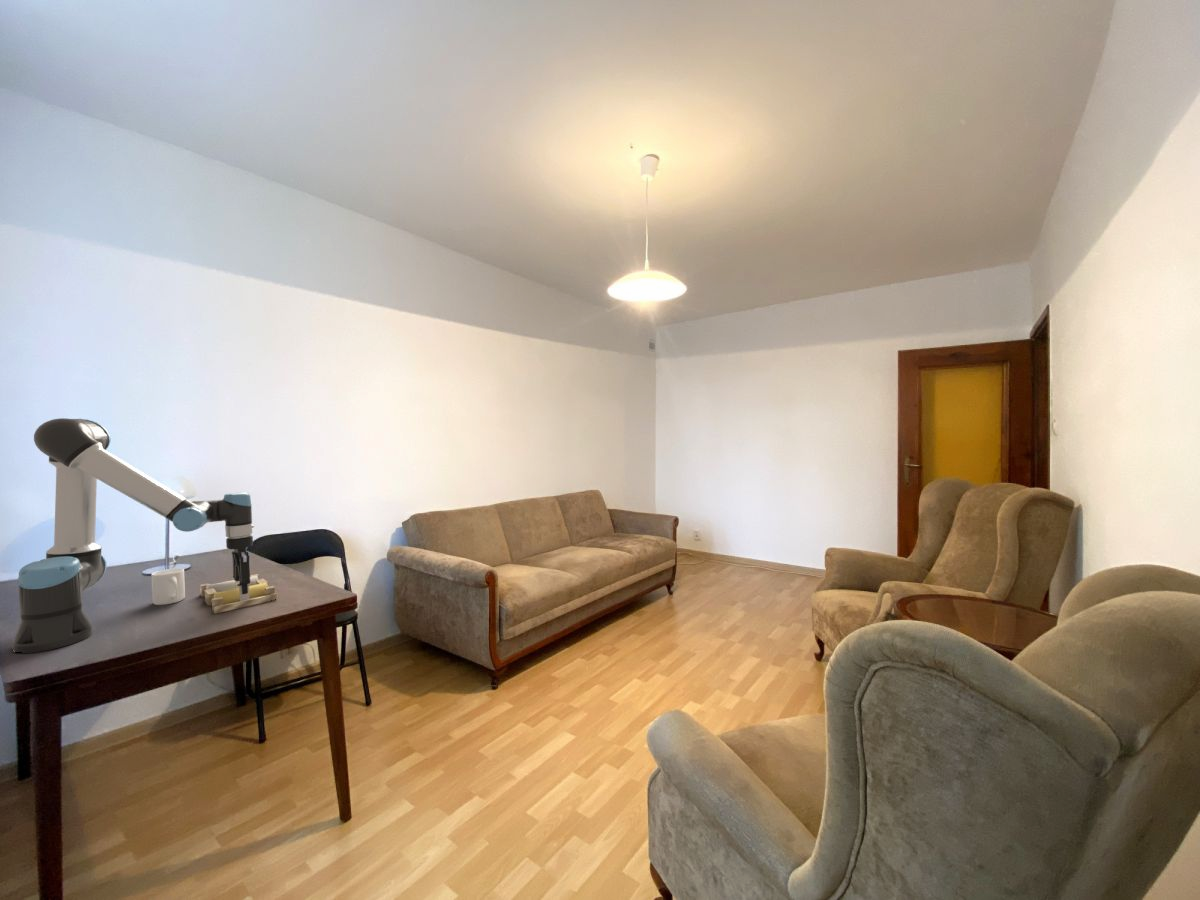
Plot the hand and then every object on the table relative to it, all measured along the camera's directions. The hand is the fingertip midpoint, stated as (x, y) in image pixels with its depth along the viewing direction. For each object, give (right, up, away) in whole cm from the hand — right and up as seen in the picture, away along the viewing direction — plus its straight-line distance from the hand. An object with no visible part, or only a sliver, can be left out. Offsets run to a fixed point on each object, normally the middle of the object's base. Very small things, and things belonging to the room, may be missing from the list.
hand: (242, 600), depth 169 cm
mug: (-25, -1, -1) cm, 25 cm away
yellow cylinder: (+1, 0, -1) cm, 1 cm away
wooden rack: (-5, 0, +4) cm, 6 cm away
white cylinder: (-10, 0, +9) cm, 13 cm away
